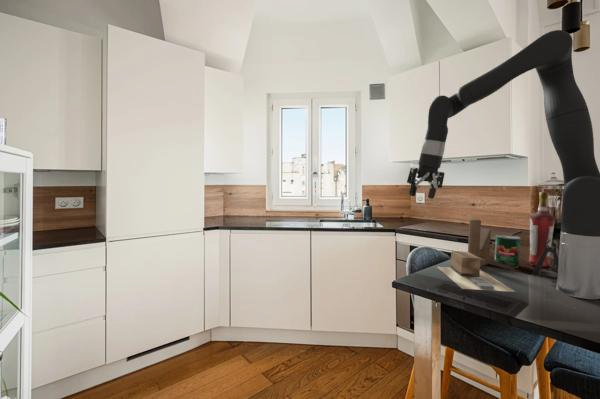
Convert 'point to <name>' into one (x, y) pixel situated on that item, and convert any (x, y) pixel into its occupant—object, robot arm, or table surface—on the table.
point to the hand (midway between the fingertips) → (421, 197)
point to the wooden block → (479, 241)
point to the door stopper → (541, 260)
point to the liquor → (540, 231)
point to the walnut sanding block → (465, 264)
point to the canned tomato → (507, 250)
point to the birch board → (466, 281)
